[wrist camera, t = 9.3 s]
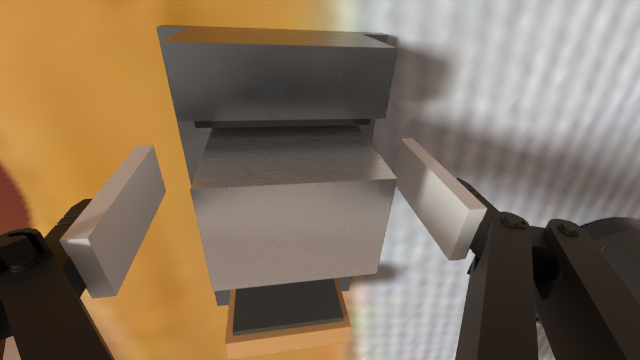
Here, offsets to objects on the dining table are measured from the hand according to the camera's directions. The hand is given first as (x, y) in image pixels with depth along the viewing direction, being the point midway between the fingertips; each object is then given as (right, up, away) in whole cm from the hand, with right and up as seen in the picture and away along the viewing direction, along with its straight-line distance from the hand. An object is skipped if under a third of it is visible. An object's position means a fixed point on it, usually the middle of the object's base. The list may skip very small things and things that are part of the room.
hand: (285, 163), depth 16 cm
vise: (-1, -2, +6) cm, 6 cm away
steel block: (0, +2, +3) cm, 3 cm away
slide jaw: (-1, -10, +9) cm, 14 cm away
